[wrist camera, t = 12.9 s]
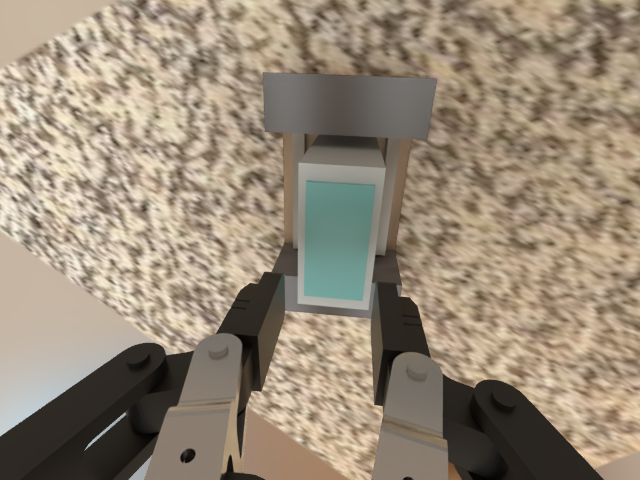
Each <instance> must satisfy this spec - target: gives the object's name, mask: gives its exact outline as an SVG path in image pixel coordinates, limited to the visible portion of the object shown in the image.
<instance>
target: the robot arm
mask: <svg viewBox="0 0 640 480" xmlns="http://www.w3.org/2000/svg"><path fill="white" fill-rule="evenodd" d="M284 314H285V276H284V273H275V272H264V274H263V276H262V278H261V280H260V282H259V284H253V283H250V284H248V285H247V286H246V287H244V288H243V289H242V290H240V292H239V294H238V295H237V297H236V299H235V301H234V303H233V304H232V306H231V309H230V310H229V311H228V313H227V315H226V317H225V319H224V320H223V322H222V324H221V326H220V328H219V329H218V331H217V333H216V334H214V335H211V336H209V337H206V338H205V339H203V340H202V341H201V342H200V343H199V344H198V345H197V346H196V348H195V350H194V351H191V352H186V353H180V354H173V355H166V354H165V350H164V348H163V347H162V346H160V345H158V344H155V343H142V344H138V345H135V346H132V347H130V348H128V349H126V350H124V351H123V352H121V353H120V354H118V355H117V356H116V357H114V358H113V359H111V360H110V361H108V362H107V363H105V364H104V365H103V366H101V367H100V368H98V369H97V370H95V371H94V372H92V373H91V374H90V375H88V376H87V377H85V378H84V379H83V380H81V381H80V382H78V383H77V384H75V385H74V386H72V387H71V388H69V389H68V390H67V391H65V392H64V393H62V394H61V395H60V396H58V397H57V398H55V399H54V400H52V401H51V402H49V403H48V404H46V405H45V406H44V407H42V408H41V409H39V410H38V411H36V412H35V413H34V414H32V415H31V416H29V417H28V418H26V419H25V420H23V421H22V422H20V423H19V424H18V425H16V426H15V427H13V428H12V429H10V430H9V431H8V432H6V433H5V434H3V435H2V436H0V480H128V479H129V478H130V477H131V476H132V475H133V474H134V473H135V472H136V471H137V470H138V469H139V468H140V467H141V466H142V465H143V464H144V463H145V462H146V461H147V460H148V458H149V457H150V456H151V455H152V454H153V455H152V458H151V461H150V464H149V467H148V470H147V473H146V476H145V479H144V480H265V479H263V478H261V477H258V476H256V475H252V474H244V473H243V459H244V447H245V436H246V425H247V413H248V404H247V403H248V400H249V397H250V395H251V392H252V391H260V392H261V391H262V388H263V385H264V382H265V378H266V375H267V372H268V369H269V365H270V362H271V359H272V356H273V353H274V349H275V346H276V343H277V340H278V337H279V333H280V330H281V327H282V324H283V320H284ZM371 346H372V366H373V387H374V405H379V406H383V419H382V425H381V430H380V435H379V441H378V446H377V452H376V457H375V463H374V468H373V474H372V479H371V480H448V462H450V463H452V464H454V466H455V469H456V471H457V472H458V474H459V476H460V477H461V479H462V480H603V478H602V477H601V476H600V475H599V474H598V473H597V472H596V471H595V470H594V469H593V468H592V467H591V466H590V464H589V463H588V462H587V461H586V460H585V459H584V458H583V457H582V456H581V455H580V454H579V453H578V452H577V451H576V450H575V449H574V448H573V446H572V445H571V444H570V443H569V442H568V441H567V440H566V439H565V438H564V437H563V436H562V435H561V434H560V433H559V432H558V431H557V430H556V429H555V427H554V426H553V425H552V424H551V423H550V422H549V421H548V420H547V419H546V418H545V417H544V416H543V415H542V414H541V413H540V412H539V411H538V410H537V408H536V407H535V406H534V405H533V404H532V403H531V402H530V401H529V400H528V399H527V398H526V397H525V396H524V395H523V394H522V393H521V392H520V391H519V390H517V389H516V388H514V387H513V386H511V385H509V384H507V383H504V382H501V381H498V380H483V381H481V382H479V383H478V384H477V385H476V387H475V388H473V387H470V386H467V385H464V384H462V383H459V382H456V381H454V380H452V379H450V378H448V377H446V376H445V375H443V374H442V371H441V369H440V367H439V366H438V364H437V363H436V362H435V361H434V360H432V359H431V357H430V353H429V349H428V345H427V341H426V338H425V334H424V330H423V327H422V322H421V319H420V314H419V311H418V307H417V305H416V304H415V303H414V302H413V301H412V300H411V299H410V297H399V296H398V291H397V285H396V283H391V282H379V281H376V284H375V291H374V299H373V307H372V315H371ZM124 412H126V416H124V417H123V418H122V419H121V420H120V421H118V422H117V423H116V424H115V425H114V426H113V427H112V428H110V429H109V430H108V431H107V432H106V433H105V434H103V435H102V436H101V437H100V438H99V439H98V440H97V441H95V442H94V443H93V444H92V445H91V446H90V447H88V448H87V449H86V447H87V446H88V444H89V443H90V442H91V441H92V440H93V439H94V438H95V437H96V436H97V435H99V434H100V433H101V432H102V431H103V430H104V429H106V428H107V427H108V426H109V425H110V424H112V423H113V422H114V421H115V420H116V419H117V418H119V417H120V416H121V415H122V414H123V413H124ZM85 449H86V450H85ZM84 450H85V451H84Z"/></svg>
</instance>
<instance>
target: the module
mask: <svg viewBox="0 0 640 480" xmlns="http://www.w3.org/2000/svg"><path fill="white" fill-rule="evenodd" d="M385 171H386V167H385V164H384V160H383V157H382V154H381V151H380V147H379V144H378V141H377V138H376V137H362V136H342V135H322V134H319V135H318V137H317V138H316V139H315V141H314V142H313V143H312V145H311V146H310V148H309V149H308V150H307V152H306V153H305V155H304V156H303V157H302V159H301V160H300V162H299V169H298V304H307V305H318V306H328V307H339V308H350V309H361V310H368V309H369V301H370V293H371V285H372V276H373V268H374V260H375V252H376V244H377V236H378V228H379V220H380V212H381V204H382V195H383V187H384V179H385Z"/></svg>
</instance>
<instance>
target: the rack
mask: <svg viewBox="0 0 640 480" xmlns="http://www.w3.org/2000/svg"><path fill="white" fill-rule="evenodd" d="M436 83H437V79H433V78H405V77H378V76H350V75H322V74H295V73H267V72H263V92H264V119H265V132H283V156H284V223H285V243H284V245H283V248H282V250H281V252H280V254H279V257H278V259H277V261H276V263H275V265H274V268H273V270H272V272H275V273H284V276H285V311H295V312H306V313H316V314H327V315H338V316H348V317H359V318H370V319H371V315H372V307H373V299H374V291H375V284H376V281H379V282H391V283H396V285H397V291H398V296H399V297H400V295H401V289H402V283H401V278H400V273H399V269H398V264H397V259H396V254H395V246H396V240H397V233H398V226H399V220H400V213H401V206H402V200H403V193H404V186H405V180H406V173H407V166H408V160H409V153H410V146H411V140H412V139H421V140H427V136H428V130H429V124H430V118H431V112H432V106H433V100H434V95H435V89H436ZM319 134H322V135H342V136H362V137H376V138H377V141H378V144H379V147H380V151H381V154H382V157H383V160H384V164H385V167H386V171H385V179H384V187H383V195H382V204H381V212H380V220H379V228H378V236H377V244H376V252H375V260H374V268H373V276H372V285H371V293H370V301H369V309H368V310H361V309H350V308H339V307H328V306H318V305H307V304H298V169H299V162H300V160H301V159H302V157H303V156H304V155H305V153H306V152H307V150H308V149H309V148H310V146H311V145H312V143H313V142H314V141H315V139H316V138H317V137H318V135H319Z"/></svg>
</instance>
